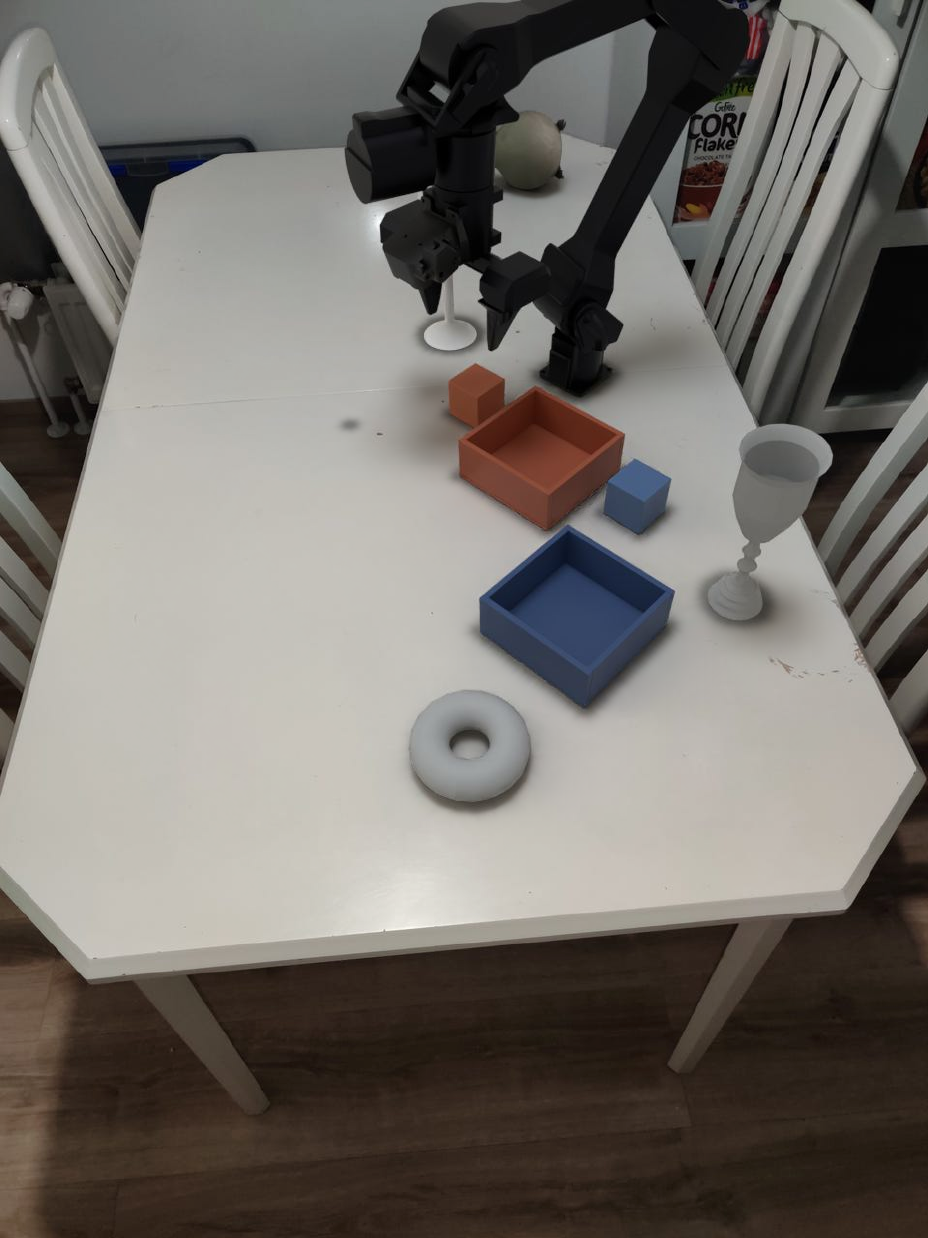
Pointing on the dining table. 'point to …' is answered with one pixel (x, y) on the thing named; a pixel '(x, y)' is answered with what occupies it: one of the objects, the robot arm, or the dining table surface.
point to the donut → (464, 774)
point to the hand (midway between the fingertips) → (461, 331)
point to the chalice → (768, 504)
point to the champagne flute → (449, 323)
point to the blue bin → (575, 613)
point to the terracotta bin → (540, 456)
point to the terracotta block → (476, 395)
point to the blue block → (636, 495)
